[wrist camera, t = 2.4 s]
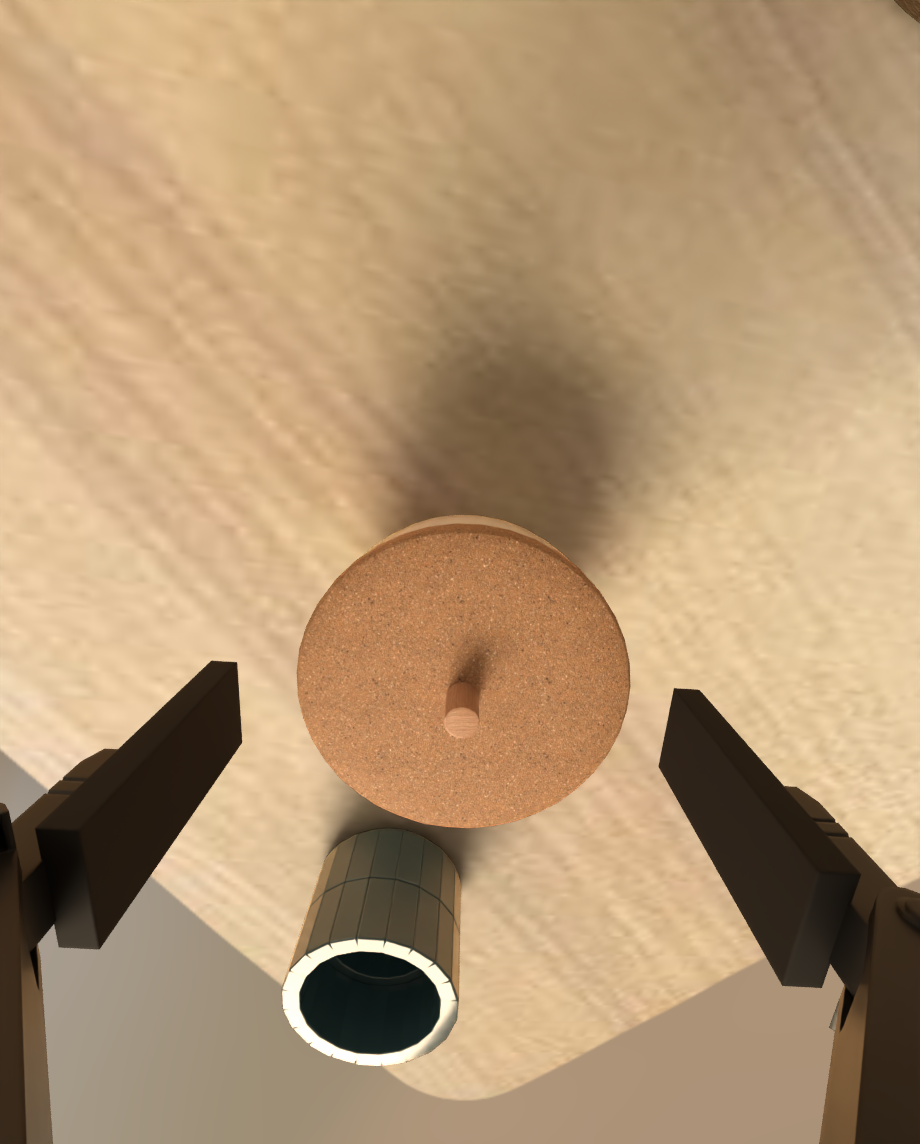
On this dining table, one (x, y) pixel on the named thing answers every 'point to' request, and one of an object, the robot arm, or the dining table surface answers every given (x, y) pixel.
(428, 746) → the trinket box
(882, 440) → the dining table surface
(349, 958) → the grey-green hollow cylinder
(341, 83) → the dining table surface
